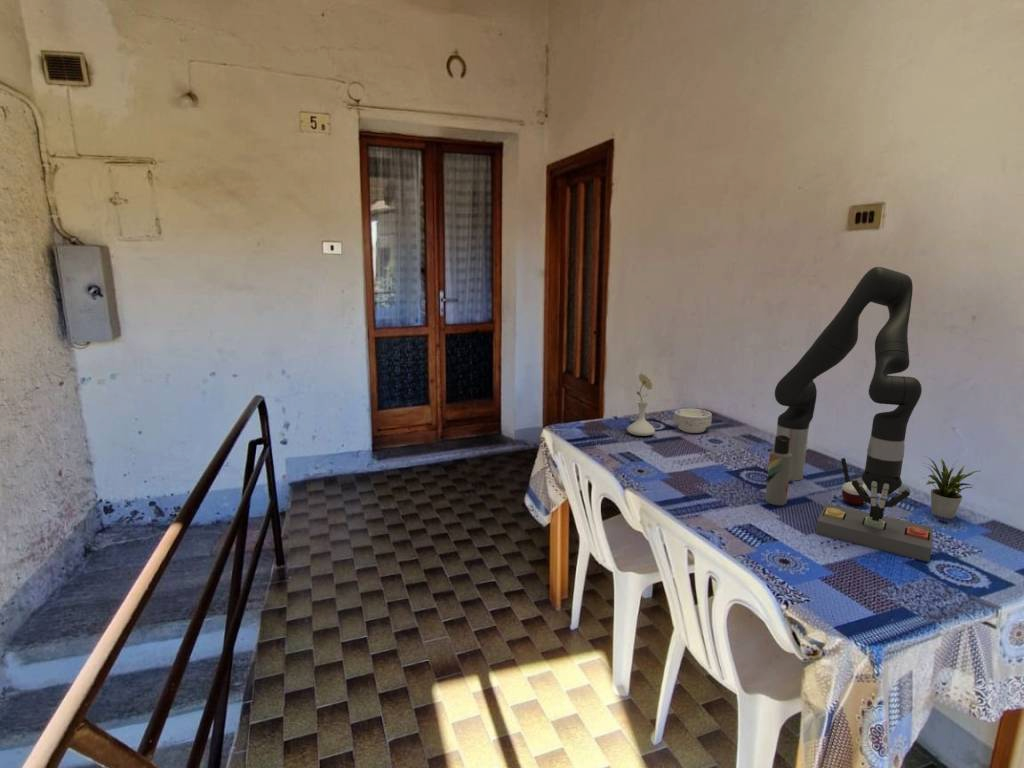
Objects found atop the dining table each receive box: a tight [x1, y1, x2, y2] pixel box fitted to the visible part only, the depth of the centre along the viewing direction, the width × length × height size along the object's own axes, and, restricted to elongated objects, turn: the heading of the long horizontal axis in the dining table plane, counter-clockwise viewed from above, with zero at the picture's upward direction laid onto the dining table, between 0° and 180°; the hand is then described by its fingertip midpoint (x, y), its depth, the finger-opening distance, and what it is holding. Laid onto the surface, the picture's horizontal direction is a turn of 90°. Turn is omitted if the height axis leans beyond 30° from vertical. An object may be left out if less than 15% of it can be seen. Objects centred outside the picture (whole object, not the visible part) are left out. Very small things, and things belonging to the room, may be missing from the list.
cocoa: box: [840, 457, 868, 506], centre depth 166 cm, size 10×6×12 cm, turn 2°
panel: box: [815, 503, 934, 563], centre depth 145 cm, size 24×14×4 cm, turn 53°
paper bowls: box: [673, 408, 713, 434], centre depth 238 cm, size 15×15×8 cm
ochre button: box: [824, 508, 845, 520], centre depth 150 cm, size 4×4×4 cm
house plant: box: [920, 455, 980, 519], centre depth 158 cm, size 14×14×16 cm
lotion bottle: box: [765, 435, 792, 507], centre depth 164 cm, size 6×6×20 cm
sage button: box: [864, 517, 885, 530], centre depth 145 cm, size 4×4×4 cm
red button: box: [906, 526, 928, 540], centre depth 140 cm, size 4×4×4 cm
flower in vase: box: [626, 372, 656, 437], centre depth 231 cm, size 13×11×25 cm
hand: (875, 519), depth 144 cm, fingers closed
